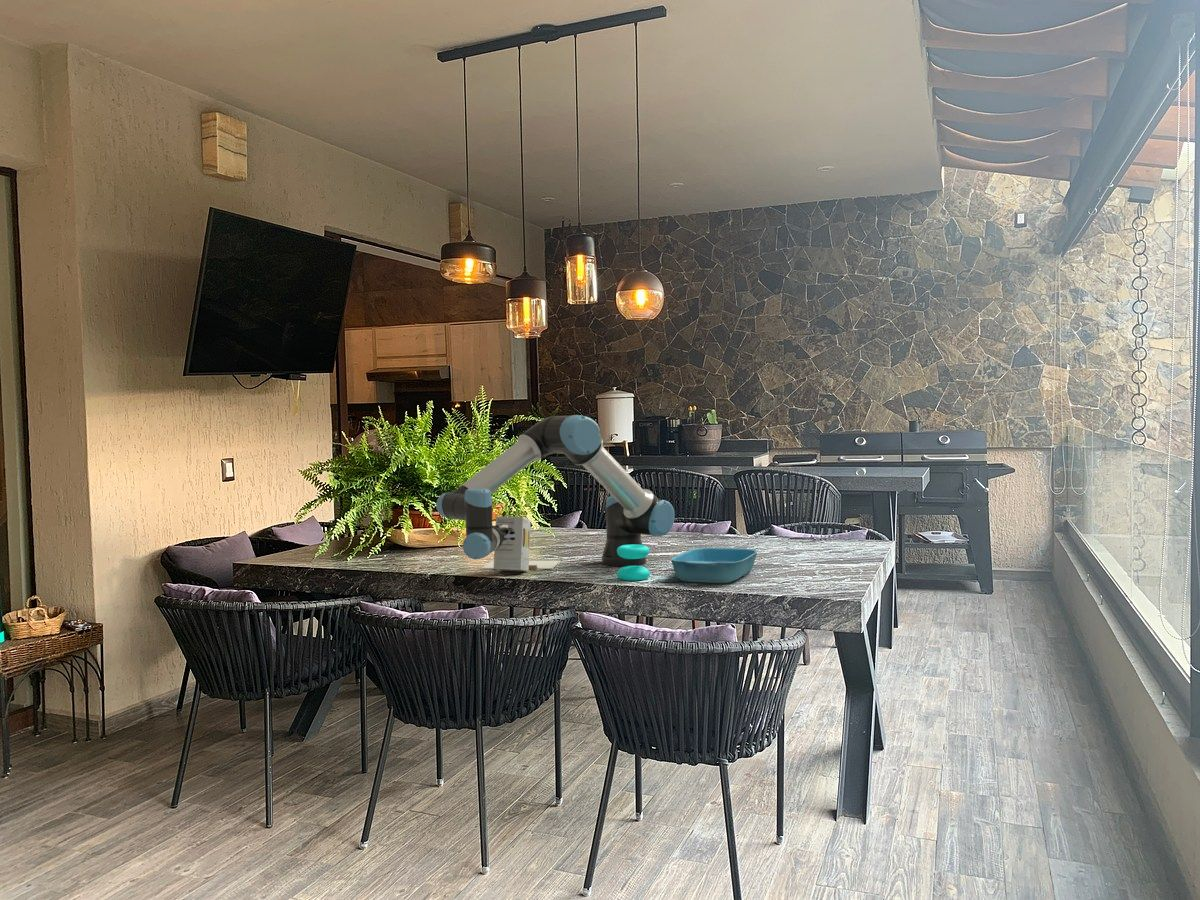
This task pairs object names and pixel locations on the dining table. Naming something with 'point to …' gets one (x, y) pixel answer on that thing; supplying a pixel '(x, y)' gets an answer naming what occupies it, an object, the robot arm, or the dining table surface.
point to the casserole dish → (713, 564)
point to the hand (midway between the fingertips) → (506, 528)
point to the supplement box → (513, 546)
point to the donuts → (633, 571)
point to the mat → (530, 565)
